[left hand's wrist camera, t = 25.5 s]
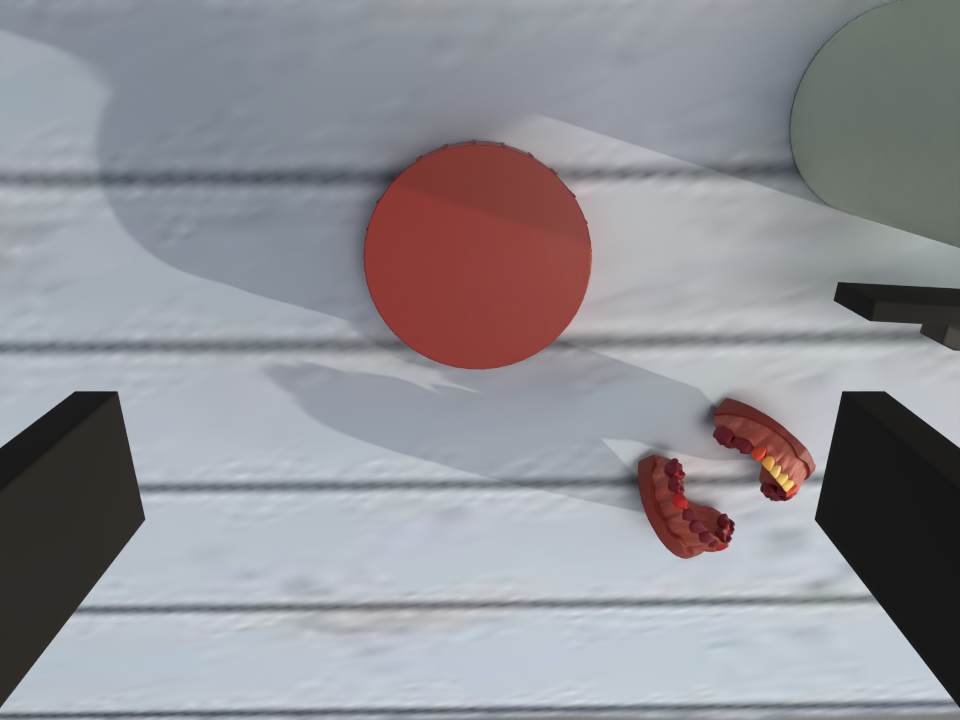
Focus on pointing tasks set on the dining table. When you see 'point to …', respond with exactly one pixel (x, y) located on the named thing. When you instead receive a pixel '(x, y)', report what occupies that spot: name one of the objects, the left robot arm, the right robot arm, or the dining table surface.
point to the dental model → (705, 527)
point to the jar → (886, 119)
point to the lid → (477, 255)
